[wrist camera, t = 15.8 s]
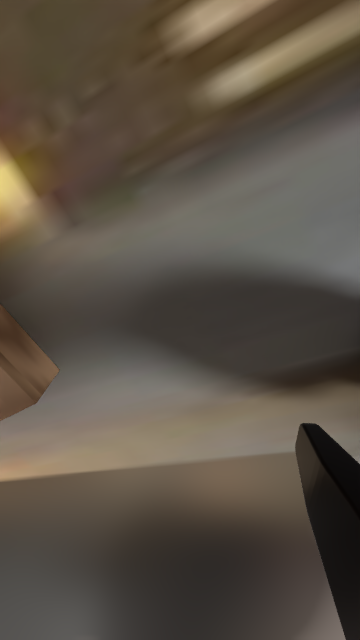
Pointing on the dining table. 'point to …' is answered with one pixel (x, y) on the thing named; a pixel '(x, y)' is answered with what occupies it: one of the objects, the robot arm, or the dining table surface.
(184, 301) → the dining table surface
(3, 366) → the walnut pedestal
